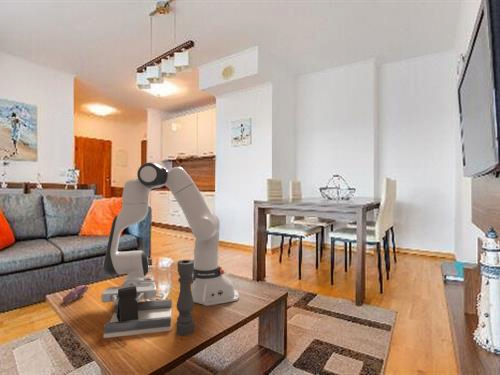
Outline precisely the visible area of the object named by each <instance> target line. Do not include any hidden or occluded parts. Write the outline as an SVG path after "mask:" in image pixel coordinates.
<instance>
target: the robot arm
mask: <svg viewBox="0 0 500 375" xmlns="http://www.w3.org/2000/svg"><path fill="white" fill-rule="evenodd" d="M136 174H137V178H132V179H129V180H126V182H125V183H124V186H123V190H122V198H121V209H120V211H119V213H118V214H117V215H115V216H114V218H113V220H112V223H111V226H110V232H109V236H108V241H107V242H108V243H107V245H106V246H107V247H106V250H105V255H104V257H103V258H104V259H103V262H102V263H103V264H102V269H103V270H102V271H103V272H105V273H106V274H107V275H109V276H110V277H111V276H117V275H124V274H125V275H126V277H125V278H124V280H123V282H122V285H120V286H118V285H117V286H109V287H107V288H105V290H104V291H102V293H101V295H100V298H101V302H102V303H113V305H115V304H119V302H118V301H119V299H118V289H123V288H128V287H133V286H135V287H136V289H137V298H136V299H135V300H137V302H142V300H151V299H152V300H153V299H155V298H157V284H156V283H155V279H154V278H148V277H147V275H148V273H149V271H148V263H149V264H150V258H149V255H148V254H147V253H146V252H145V251H144V250H129V251H128V250H127V251H119V249H118V248H119V244H120V243H119V242H120V238H121V235H122V234H121V233H122V232H123V230H125V229H127V228H128V227H131V226H133V225H136V224H139V223H140V222H142V221H144V220H145V218H146V217H147V216H148V213H149V195H150V192H151V191H154V190H157V189H160V188H163V187H167V188H168V189H169V191H170V193H171V194H172V196H173V197H174V199H175V200H176V202H177V204H178V206H179V207H180V208H181V210H182V212H183V214H184V217H185V218H186V221H187V224H188V225H189V227H190V229H191V233H192V234H193V237H195V241H194V249H193V260H194V271H193V274H192V278H193V281H192V285H191V293H192V297H193V301H194V304H195V303H196V304H201V305H202V306H205V307H206V306H207V307H209V306H215V305H219V304H226V303H232V302H236V301H238V300H239V298H240V296H239V292H238V290H236V289H235V286H234V284H233V281H231V279H230V278H228V277H227V276H226V275H224V273H225V270H224V269H223V267H221V266H220V265H219V241H220V219H219V216H218V215H217V214H215V213H214V212H211V211H210V209H209V206H208V204H207V202H206V200H205V198H204V196H203V194H202V193H201V191H200V190H199V188H198V186H197V185H196V183H195V181H194V180H193V179H192V177H191V176H190V174H189V173H188V172H187V171H186V170H185V168H183V167H181V166H173V167H172V168H168V169H167V168H165V167H164V166H162V165H160V164H158V163H155V162H153V161H152V162H145V163H143V164H141V165H140V167H139V168H138V170H137V172H136ZM148 260H149V261H148ZM144 276H146V278H145V277H144Z"/></svg>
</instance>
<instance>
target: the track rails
mask: <svg viewBox="0 0 500 375" xmlns="http://www.w3.org/2000/svg"><path fill="white" fill-rule="evenodd" d="M172 304H173V302H172V298H171V299H159V300H158V299H157V300H147V301H146V300H145V301H140V302H137V308H138V311H143V310H154V309H164V308H172ZM172 309H173V308H172ZM114 313H117V304H113V314H114ZM103 326H104V327H103V328H104V330H103V332H104V333H103V335H104V334H105V333H115V332H124V331H133V330H143V329H152V328H161V327H170V326H171V327H172V315H171V316H169V317H159V318H149V319H139V320H129V321H119V322H110V321H109V322H105V323H104V325H103Z"/></svg>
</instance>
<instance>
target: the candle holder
mask: <svg viewBox="0 0 500 375" xmlns="http://www.w3.org/2000/svg"><path fill="white" fill-rule="evenodd" d="M193 260H194V259H193ZM193 260H192V259H182V260H178V261H177V273H178V275H179V277H178V280H177V282H178V283H179V294H178V297H177V302H176V310H177V311H178V314H179V315H178V316H177V318H176V325H175V328H176V330H175V333H176V334H177V335H178V336H181V337H185V336H189V335H192V334H193V333H194V331H195V324H194V323H195V321H194V316H193V314H192V312H193V309H194V307H195V302H194V301H193V297H192V293H191V291H192V283H193V278H192V277H191V276H192V274H193V271H194V261H193Z"/></svg>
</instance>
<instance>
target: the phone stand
mask: <svg viewBox="0 0 500 375" xmlns="http://www.w3.org/2000/svg"><path fill="white" fill-rule="evenodd" d="M136 298H137V289H136V287H135V286H133V287H128V288H123V289H118V299H119V301H118V302H119V304H117V315H116V317H117V319H118V321H129V320H138V308H137V300H135V299H136Z"/></svg>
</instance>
